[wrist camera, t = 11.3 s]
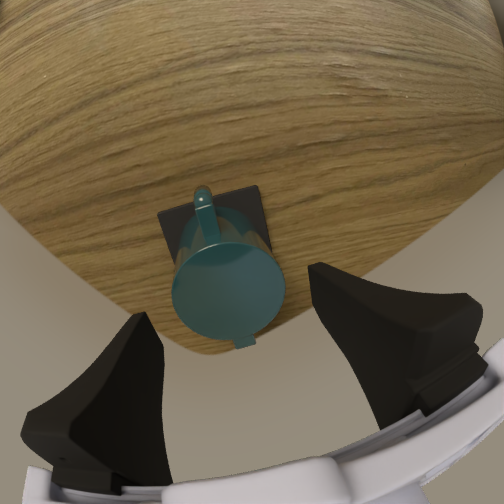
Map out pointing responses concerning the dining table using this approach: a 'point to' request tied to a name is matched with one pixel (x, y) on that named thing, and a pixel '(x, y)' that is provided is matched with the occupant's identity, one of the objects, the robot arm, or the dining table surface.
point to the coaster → (238, 199)
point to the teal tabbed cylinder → (225, 275)
